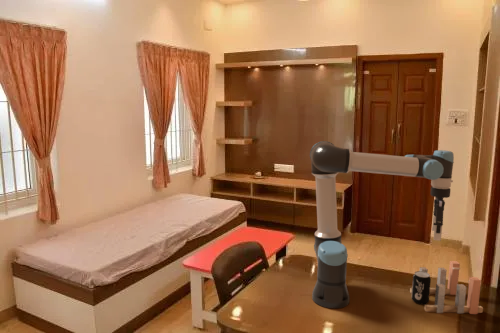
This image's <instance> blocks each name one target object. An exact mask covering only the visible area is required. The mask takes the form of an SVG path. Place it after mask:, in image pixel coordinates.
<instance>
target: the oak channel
mask: <svg viewBox="0 0 500 333" xmlns="http://www.w3.org/2000/svg"><path fill="white" fill-rule="evenodd" d="M409 292H410V294H411V295H412V287H410V288H409ZM435 294H436V287H430V294H429V295H435ZM445 295H451V294H450V289H449V288H448V287H447V288H446V287H445ZM456 310H457V307H456V306H455V305H450V304H449V305H445V304H444V308H443V313H457V312H456ZM424 311H425V312H426V313H427V312H428V313H431V312H432V313H434V312H435V313H436V306H435V304H424ZM483 311H484V308H483V306H481V305H478V313H477V314H481V313H483ZM464 313H469V307H468V306H467V305H464Z"/></svg>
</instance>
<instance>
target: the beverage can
mask: <svg viewBox="0 0 500 333" xmlns="http://www.w3.org/2000/svg"><path fill="white" fill-rule="evenodd" d="M431 281H432V280H431V275H430V273H429V272H427V273H426V272H423V271H420V270H418V271H415V272H414V274H413V276H412V287H411V288H412V294H411V300H412V301H413V303H415V304H418V305H424V306H425V305H428V303H429V302H430V295H431V294H430V288H431Z"/></svg>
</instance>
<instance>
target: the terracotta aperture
mask: <svg viewBox="0 0 500 333" xmlns="http://www.w3.org/2000/svg"><path fill="white" fill-rule="evenodd" d="M460 264H461V263H460V262H458V261H457V260H449V270H448V280H447V288H449V289H450V294H449V295H450V296H451V295H452V296H454V295H455V296H456V289H457V284H459V276H460V269H461V267H460V266H461V265H460ZM481 283H482V280H481V279H480V278H479V277H477V276H469V280H468V292H467V300H466V306H468V307H469V312H468V313H469V315H478V314H479V313H478V306H479V303H480V302H479V301H480V293H481Z"/></svg>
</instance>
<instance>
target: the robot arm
mask: <svg viewBox="0 0 500 333" xmlns="http://www.w3.org/2000/svg"><path fill="white" fill-rule="evenodd" d="M309 159H310V165H311V166H310V167H311V175H312V176H314V178H315V198H316V199H315V200H316V217H317V218H316V220H317V221H316V222H317V230H316V231H315V232H314V245H313V249H314V252H315V256H316V260H317V274H316V282H315V285H314V287H313V290H312V292H311V293H312V294H311V297H312V301H313V302H314V303H315V304H316V305H318V306H321V307H324V308H328V309H341V308H345V307H347V306H348V305H349V303H350V294H349V293H350V292H349V291H348V287H347V281H346V280H347V267H348V266H347V264H348V250H347V246H346V245H345V244H343V243H342V232H341V231H340V230H339V229H338V209H337V208H338V205H337V184H336V183H337V182H336V181H337V180H336V178H337V175H338V174H341V173H342V174H348V173H349V172H356V173H357V172H358V173H359V172H360V173H369V174H370V173H371V174H383V175H393V176H405V177H414V178H416V177H417V178H422V179H423V178H424V179H428V180H431V181H430V182H431V183H430V185H431V187H430V192H429V193H430V196H431V197H434V198H435V199H434V200H433V207H434V208H433V217H432V229H431V231H432V232H433V241H437V242H441V240H442V233H443V232H442V231H443V225H444V211H445V204H446V202H445V199H447V198H450V197H451V186H452V183H454V180H452V177H453V168H454V163H455V162H454V153H453V152H452V150H451V151H450V150H443V149H440V150H439V149H438V150H434V151H433V154H429V155H428V154H426V155H425V154H406V155H404V156H402V155H401V156H400V155H390V154H379V153H369V152H368V153H367V152H356V151H355V152H354V151H352V150H351V149H350V148H342V147H338V146H336V145H335V144H333V143H332V142H330V141H326V140H325V141H319V142H316V143H315V144H314V145H313V146H312V147H311V149H310V151H309ZM444 198H445V199H444Z"/></svg>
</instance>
